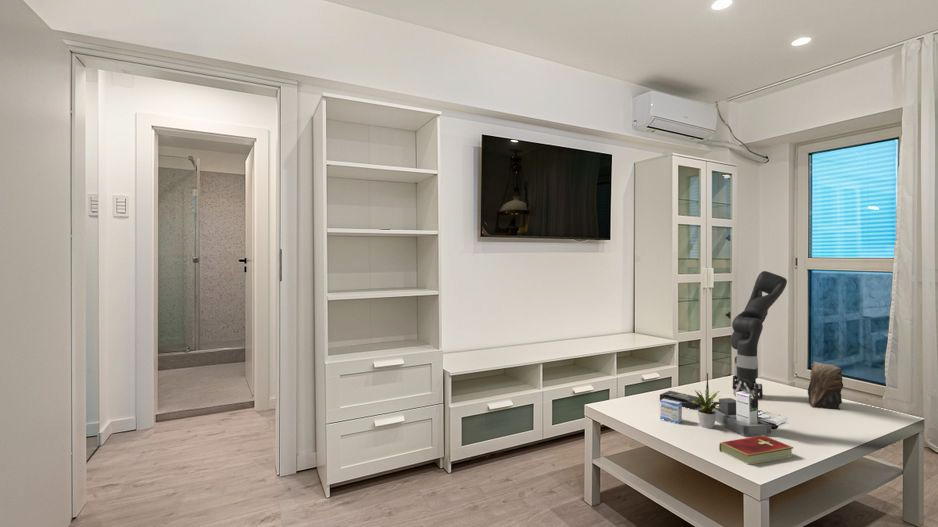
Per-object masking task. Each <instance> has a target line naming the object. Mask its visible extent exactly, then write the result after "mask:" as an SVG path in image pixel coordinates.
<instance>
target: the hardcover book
mask: <svg viewBox="0 0 938 527" xmlns="http://www.w3.org/2000/svg"><path fill="white" fill-rule="evenodd" d="M718 446H719V449H718V450H719V452H720V453H723V454H725V455H727V456H730V457H732V458H733V459H736V460H738V461H740V462H742V463H743V464H746V465H748V466H750V465H754V464H755V465H756V464H760V463H764V462H765V463H766V462H771V461H776V460H781V459H787V458H792V456H793V455H792V450H793V449H794V446H791V445H789V444H787V443H784V442H781V441H779V440H776V439H773V438H771V437H769V436H767V435H761V436H749V437H745V438H739V439H731V440H727V441H720V442H719V445H718Z"/></svg>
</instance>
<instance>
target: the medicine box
mask: <svg viewBox="0 0 938 527" xmlns="http://www.w3.org/2000/svg"><path fill="white" fill-rule="evenodd" d="M659 402H660V403H659V405H660V406H659V409H660V410H659V413H660V414H659V418H660V419H659V420H661V419H664V420H667V421H666V422H668V421H671V422H670V423H672V422H675V423H674V424H677V423H679V424H680V423H682V422H683V417H682V416H683V412H682V411H683V407H682V402H678V401H673V400H668V399H662V400H661V401H660V400H659Z"/></svg>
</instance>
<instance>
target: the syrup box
mask: <svg viewBox="0 0 938 527" xmlns="http://www.w3.org/2000/svg"><path fill="white" fill-rule="evenodd" d="M753 395H754V396H755V394H753ZM751 399H752V397H751V395H750V394H749V393H748V391H746V390H744V391H740V392H736V396H735V400H736V419H737V421H739V422H741V423H743V424H745V425H752V424H758V419H759V418H758V415H759V414H758V410H759V407H758V408H752V407H751Z"/></svg>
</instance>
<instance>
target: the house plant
mask: <svg viewBox="0 0 938 527" xmlns="http://www.w3.org/2000/svg"><path fill="white" fill-rule="evenodd" d="M695 389H696V390H695ZM695 389H694V391H692V392H693V393H694V392H695V393H696V394H695V393H694V394H695V395H696V396H695V397H697V398H698V397H699V398H700V399H699V398H698V399H699V401H700V403H701V402H702V403H701V405H700V404H699V403H697V402H696V401H692V403H694V404H696V403H697V405H700V406H699V408H698V409H697V416H698V421H699V426H700V427H701V428H704V429H713V428H714V427H715V422H716V421H715V418H716V412H715V411H713V409H717V410H718V408H720V409H721V410H722V408H721V407H719V404H721V403H719V401H714V400H715V399H719V397H721V395H719V396H717V394H719V392H720V391H715V392H714V391H712V393H709V397H708V393H707V391H708V389H707V391H706V390H705V397H704V396H703V395H702V392H701V391H699V389H697V388H695ZM685 390H687V391H688V389H685ZM697 390H698V391H697ZM708 398H709V399H708ZM708 402H709V403H708Z"/></svg>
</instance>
